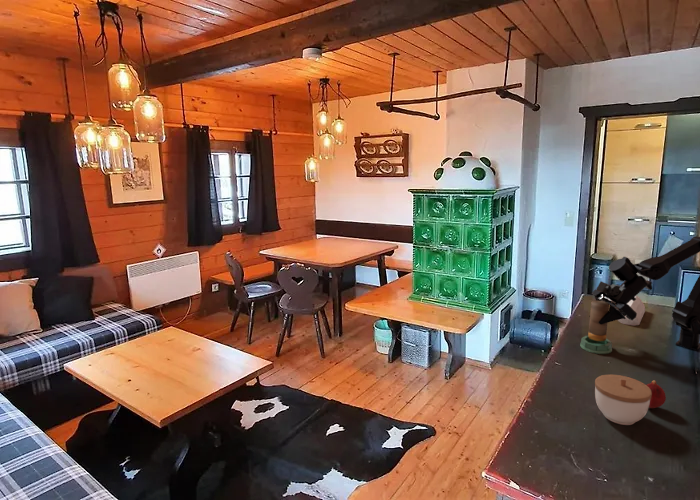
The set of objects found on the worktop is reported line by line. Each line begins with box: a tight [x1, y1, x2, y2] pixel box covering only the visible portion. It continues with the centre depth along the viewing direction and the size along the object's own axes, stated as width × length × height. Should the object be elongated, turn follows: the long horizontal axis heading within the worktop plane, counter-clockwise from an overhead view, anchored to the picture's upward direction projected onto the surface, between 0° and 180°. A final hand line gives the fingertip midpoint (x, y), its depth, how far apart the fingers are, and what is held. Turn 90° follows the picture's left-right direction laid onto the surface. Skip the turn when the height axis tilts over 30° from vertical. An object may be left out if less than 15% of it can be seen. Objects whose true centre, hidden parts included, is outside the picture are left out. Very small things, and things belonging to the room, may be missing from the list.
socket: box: [579, 335, 613, 355], centre depth 158 cm, size 10×10×3 cm
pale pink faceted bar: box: [617, 295, 646, 326], centre depth 187 cm, size 7×7×24 cm
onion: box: [646, 379, 667, 409], centre depth 120 cm, size 6×6×8 cm
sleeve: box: [587, 300, 610, 341], centre depth 156 cm, size 6×6×13 cm
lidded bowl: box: [594, 374, 652, 426], centre depth 116 cm, size 13×13×11 cm
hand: (594, 320), depth 156 cm, fingers closed on sleeve, 5 cm apart
